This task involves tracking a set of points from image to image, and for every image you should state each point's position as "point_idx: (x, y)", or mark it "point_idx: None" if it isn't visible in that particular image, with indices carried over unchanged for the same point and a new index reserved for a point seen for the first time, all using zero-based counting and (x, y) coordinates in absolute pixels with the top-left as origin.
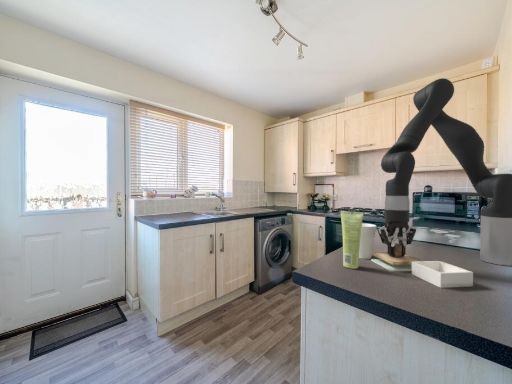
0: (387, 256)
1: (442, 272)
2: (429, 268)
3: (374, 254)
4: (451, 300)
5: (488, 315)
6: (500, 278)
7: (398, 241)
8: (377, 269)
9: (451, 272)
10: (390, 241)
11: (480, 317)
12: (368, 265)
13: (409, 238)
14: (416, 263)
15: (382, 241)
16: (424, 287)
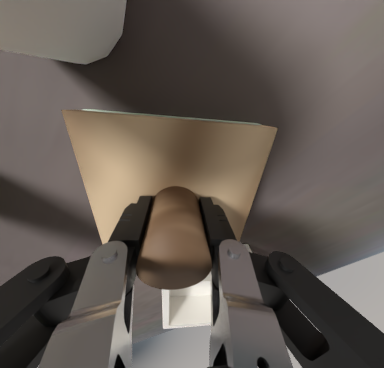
0: (125, 203)
1: (172, 326)
2: (165, 314)
3: (74, 135)
4: (142, 313)
5: (154, 329)
6: (328, 267)
7: (219, 269)
8: (72, 211)
9: (193, 324)
10: (121, 283)
11: (140, 331)
12: (47, 170)
13: (288, 345)
14: (162, 293)
15: (14, 290)
16: (135, 290)
